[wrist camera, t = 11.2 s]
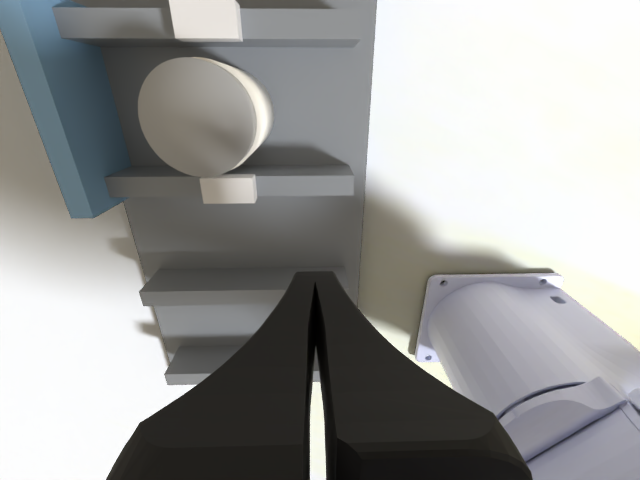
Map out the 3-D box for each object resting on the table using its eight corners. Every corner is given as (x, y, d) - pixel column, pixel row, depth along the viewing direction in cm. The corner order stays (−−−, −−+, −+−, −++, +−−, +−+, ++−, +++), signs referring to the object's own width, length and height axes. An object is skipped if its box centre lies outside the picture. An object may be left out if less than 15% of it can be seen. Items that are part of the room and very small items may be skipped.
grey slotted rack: (375, -41, 14) (406, -105, 10) (351, 367, 25) (360, 426, 21) (66, -44, 14) (-53, -111, 9) (180, 370, 25) (151, 431, 20)
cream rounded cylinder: (271, 67, 15) (248, 52, 10) (276, 151, 17) (260, 178, 11) (188, 68, 15) (119, 54, 10) (203, 152, 17) (151, 180, 11)
